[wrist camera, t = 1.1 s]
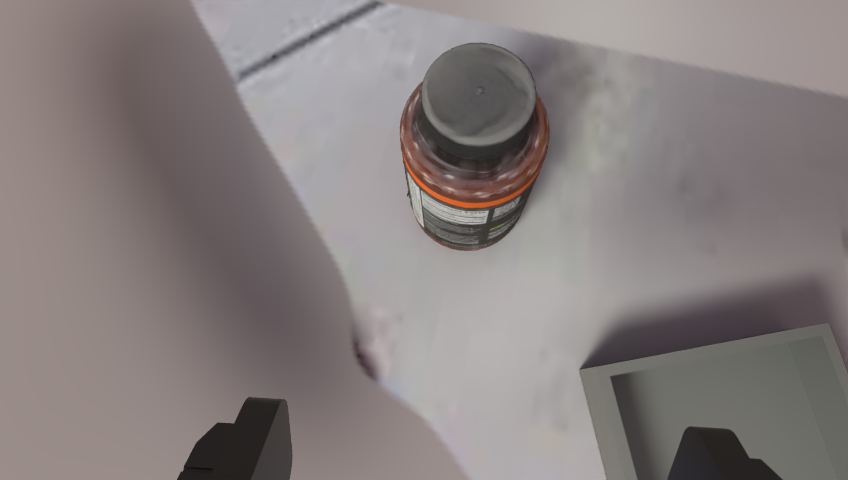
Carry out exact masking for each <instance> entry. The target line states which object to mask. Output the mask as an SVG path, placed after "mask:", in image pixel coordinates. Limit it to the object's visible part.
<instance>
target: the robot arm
mask: <svg viewBox="0 0 848 480" xmlns="http://www.w3.org/2000/svg"><path fill="white" fill-rule="evenodd" d="M291 467H292V444H291V434H290V424H289V414H288V406H287V402H286V400H285V399H268V398H252V397H249V398H247V399H246V401H245V402H244V404H243V406H242V408H241V410H240V412H239V414H238V417H237V419H236V421H235V423H234V424H231V423H217V424H216V425H215V426H214V427H212V428H211V429H210V430H209V431H208V432H207V433H206V434H205V435H204V436H203V437H202V438H201V439H200V440H199V441H198V442H197V443H196V444H195V446H194V448H193V450H192V452H191V454H190V456H189V458H188V460H187V462H186V463H185V465H184V470H183V472H181V473H180V475H179V477H178V479H177V480H289V479H290V474H291ZM667 480H783V479H782V478H781V477H780V476H778V475H777V474H776V473H775V472H774V471H773V470H772V469H771V468H770V467H769V466H768V465H767V464H766V463H765V462H763V461H762V460H761V459H755V458H749V456H748V455H747V453H746V451H745V449H744V448H743V446H742V444H741V443H740V441H739V439H738V437H737V436H736V435H735V433H734V432H733V431H731V430H730V429H724V428H708V427H693V426H689V427H687V428H686V429H685V431H684V433H683V436H682V439H681V441H680V444H679V447H678V450H677V453H676V455H675V458H674V461H673V464H672V467H671V469H670V472H669V475H668V478H667Z"/></svg>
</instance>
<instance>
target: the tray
mask: <svg viewBox="0 0 848 480" xmlns="http://www.w3.org/2000/svg"><path fill="white" fill-rule="evenodd" d="M579 372H580V375H581V379H582V383H583V387H584V391H585V395H586V399H587V403H588V407H589V411H590V415H591V419H592V423H593V427H594V431H595V435H596V439H597V443H598V446H599V450H600V454H601V458H602V462H603V466H604V470H605V474H606V478H607V480H667V478H668V475H669V472H670V469H671V467H672V464H673V461H674V458H675V455H676V453H677V450H678V447H679V444H680V441H681V439H682V436H683V433H684V431H685V429H686V428H687V427H689V426H693V427H708V428H724V429H730V430H731V431H733V432H734V433H735V435H736V436H737V437H738V439H739V441H740V443H741V444H742V446H743V448H744V449H745V451H746V453H747V455H748V456H749V458H755V459H761V460H762V461H763V462H765V463H766V464H767V465H768V466H769V467H770V468H771V469H772V470H773V471H774V472H775V473H776V474H777V475H778V476H780V477H781V478H782V479H783V480H848V371H847V369H846V366H845V364H844V361H843V358H842V356H841V353H840V351H839V348H838V345H837V343H836V340H835V338H834V335H833V332H832V330H831V327H830V324H829V323H823V324H818V325H812V326H807V327H802V328H796V329H791V330H785V331H780V332H775V333H770V334H764V335H759V336H754V337H749V338H743V339H738V340H733V341H728V342H722V343H717V344H712V345H707V346H701V347H696V348H691V349H686V350H680V351H675V352H670V353H665V354H659V355H654V356H649V357H644V358H639V359H633V360H628V361H623V362H618V363H612V364H607V365H602V366H597V367H591V368H586V369H581V370H579Z"/></svg>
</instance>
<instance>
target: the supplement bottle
mask: <svg viewBox="0 0 848 480" xmlns="http://www.w3.org/2000/svg"><path fill="white" fill-rule="evenodd" d="M400 141H401V150H402V155H403V163H404V167H405V174H406V180H407V185H408V194H407V196H408V195H409V198H410V203H411V207H412V209H413V212H414V215H415V217H416V219H417V222H418V223H419V225H420V226H421V228H422V229H423V230H424V232H425V233H426V234H427V235H428V236H429V237H431V238H432V239H433V240H434V241H436V242H438V243H439V244H441V245H443V246H446V247H449V248H452V249H456V250H465V251H472V250H478V249H482V248H486V247H488V246H491V245H493V244H495V243H497V242H498V241H500V240H501V239H502V238H503V237H505V236H506V235H507V234H508V233H509V232H510V230H511V229H512V228H513V227H514V226H515V224H516V223H517V221H518V219H519V217H520V215H521V212H522V210H523V208H524V206H525V204H526V202H527V199H528V197H529V194H530V192H531V190H532V187H533V185H534V183H535V180H536V178H537V176H538V174H539V171H540V169H541V167H542V164H543V161H544V159H545V156H546V153H547V148H548V142H549V121H548V117H547V113H546V109H545V107H544V105H543V102H542V101H541V99H540V97H539V95H538V94H537V92H536V86H535V82H534V79H533V76H532V74H531V72H530V70H529V69H528V67H527V66H526V65H525V63H524V62H523V61H522V60H521V59H520V58H518V57H517V56H516V55H515V54H513V53H512V52H510V51H508V50H507V49H504V48H502V47H499V46H496V45H493V44H487V43H468V44H464V45H460V46H457V47H454V48H452V49H450V50H449V51H447V52H445V53H444V54H442V55H441V56H440V57H438V58H437V59H436V60H435V61H434V62H433V64H432V65H431V66H430V68H429V69H428V71H427V73H426V75H425V77H424V80H423V82H421V83H420V84H419V85H418V86H417V88H416V89H415V91H414V92H413V93H412V95H411V96H410V98H409V99H408V101H407V103H406V106H405V108H404V110H403V114H402V117H401V122H400Z"/></svg>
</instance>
